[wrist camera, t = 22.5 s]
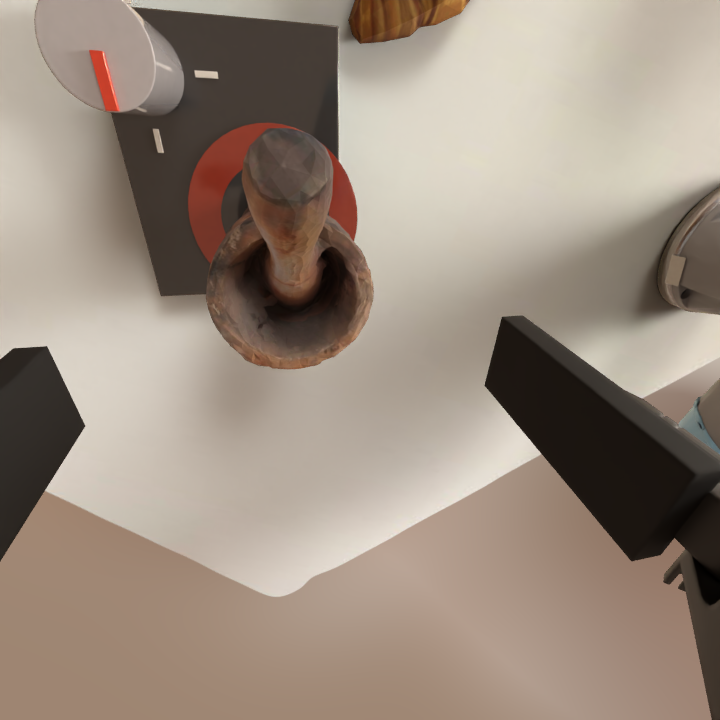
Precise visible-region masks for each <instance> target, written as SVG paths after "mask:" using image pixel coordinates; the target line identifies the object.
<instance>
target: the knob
mask: <svg viewBox="0 0 720 720" xmlns="http://www.w3.org/2000/svg"><path fill="white" fill-rule="evenodd" d="M34 20H35V32H36V38H37V42H38V45H39V48H40V51H41V53H42V56H43V58H44V60H45V62H46V64H47V65H48V67H49V68H50V70H51V72H52V73H53V74H54V76H55V77H56V78H57V80H58V81H59V82H60V83H61V84H62V85H63V86H64V87H65V88H66V89H67V90H68V91H69V92H70V93H71V94H72V95H74V96H75V97H76V98H78V99H79V100H81V101H82V102H84V103H85V104H87V105H89V106H91V107H93V108H96V109H99V110H102V111H106V112H114V113H123V114H133V115H143V116H162V115H165V114H167V113H169V112H171V111H172V110H173V109H174V108H175V107H176V106H177V105H178V103H179V102H180V100H181V97H182V95H183V90H184V75H183V70H182V66H181V63H180V60H179V58H178V56H177V54H176V52H175V50H174V49H173V47H172V46H171V44H170V43H169V42H168V41H167V39H166V38H165V37H164V36H163V35H162V34H161V33H160V32H159V31H157V30H156V29H155V28H154V27H153V26H152V25H151V24H150V23H148V22H147V21H146V20H145V19H144V18H143V17H142V16H141V15H139V14H138V13H137V12H136V11H135V10H134V9H133V8H132V7H131V6H129V5H128V4H127V3H126V2H125V1H124V0H38V3H37V6H36V10H35V19H34Z"/></svg>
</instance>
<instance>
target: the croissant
mask: <svg viewBox="0 0 720 720" xmlns="http://www.w3.org/2000/svg"><path fill="white" fill-rule="evenodd" d="M468 2H469V0H355V2H354V5H353V8H352V11H351V14H350V17H349V20H348V21H349V25H350V28H351V32H352V34H353V36H354V37H355V38H356V39H357V41H358V42H359V43H360V44H361V43H374V42H384V41H389V40H394V39H399V38H404V37H409V36H410V35H411V34H413V33H414V32H415V31H416V30H417V29H418V28H419V27H423V26H431V25H436V24H438V23H440V22H443V21H445V20H447V19H449V18H451V17H453V16H456V15H458V14H460V13H461V12H462V10H463V9H464V8H465V6H466V5H467V3H468Z"/></svg>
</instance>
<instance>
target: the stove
mask: <svg viewBox="0 0 720 720" xmlns="http://www.w3.org/2000/svg"><path fill="white" fill-rule="evenodd" d="M124 1H125V2H126V3H127V4H131V0H124ZM132 8H133V9H134V10H135V11H136V12H137V13H138V14H139V15H141V16H142V17H143V18H144V19H145V20H146V21H147V22H148V23H150V24H151V25H152V26H153V27H154V28H155V29H156V30H157V31H159V32H160V33H161V34H162V35H163V36H164V37H165V38H166V39H167V41H168V42H169V43H170V44H171V46H172V47H173V49H174V50H175V52H176V54H177V56H178V58H179V60H180V63H181V66H182V70H183V75H184V90H183V95H182V97H181V100H180V102H179V103H178V105H177V106H176V107H175V108H174V109H173V110H172V111H171V112H169V113H167V114H165V115H162V116H143V115H133V114H123V113H114V112H111V114H112V117H113V121H114V125H115V128H116V132H117V136H118V139H119V143H120V147H121V150H122V154H123V158H124V161H125V165H126V169H127V172H128V176H129V180H130V183H131V187H132V191H133V195H134V198H135V202H136V206H137V209H138V213H139V217H140V220H141V224H142V228H143V231H144V235H145V239H146V242H147V246H148V250H149V253H150V257H151V261H152V265H153V268H154V272H155V276H156V279H157V283H158V287H159V290H160V294H161V296H174V295H195V294H206V289H207V280H208V274H209V269H210V265H211V264H210V263H209V261H208V260H207V258H206V257H205V256H204V254H203V253H202V251H201V249H200V247H199V246H198V244H197V241H196V239H195V237H194V234H193V231H192V228H191V224H190V219H189V212H188V194H189V186H190V182H191V179H192V175H193V172H194V170H195V168H196V166H197V164H198V162H199V160H200V159H201V157H202V156H203V154H204V152H205V151H206V150H207V149H208V148H209V147H210V146H211V145H212V144H213V143H214V142H215V141H216V140H218V139H219V138H220V137H221V136H223V135H224V134H226V133H228V132H230V131H232V130H234V129H236V128H239V127H242V126H245V125H250V124H255V123H276V124H283V125H287V126H290V127H294V128H296V129H299V130H301V131H303V132H305V133H308V134H310V135H312V136H313V137H314V138H316V139H317V140H318V141H319V142H321V143H322V144H323V145H324V146H326V147H327V148H328V149H329V151H330V152H331V153H332V154H333V155H334V156H335V157H336V158H337V160H338V161H339V27H338V26H333V25H323V24H312V23H301V22H290V21H279V20H268V19H257V18H246V17H235V16H225V15H214V14H203V13H192V12H181V11H170V10H159V9H148V8H137V7H132Z"/></svg>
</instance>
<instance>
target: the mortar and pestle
mask: <svg viewBox="0 0 720 720" xmlns="http://www.w3.org/2000/svg"><path fill="white" fill-rule="evenodd" d="M242 184H243V188H244V192H245V195H246V199H247V202H248V207H247V209H246V210H245V212H244V213H243V215H242V217H241V218H240V219H238V220H237V221H236V222H235V223H234V225H233V226H232V227H231V228H230V229H229V231H228V232H227V234H226V235H225V238H224V239H223V241H222V242H221V244H220V245H219V247H218V249H217V251H216V253H215V255H214V257H213V260H212V263H211V265H210V269H209V274H208V280H207V289H206V300H207V305H208V309H209V312H210V315H211V318H212V320H213V322H214V324H215V326H216V328H217V329H218V331H219V332H220V333H221V335H222V336H223V338H224V339H225V340H226V341H227V342H228V343H229V345H230V346H231V347H233V348H234V349H235V350H236V351H237V352H238V353H240V354H241V355H242V356H243V358H244V359H245V360H247V361H249V362H251V363H254V364H256V365H259V366H270V367H271V368H277V369H300V368H305V367H310V366H315V365H318V364H320V363H321V362H322V361H323V360H326V359H328V358H331V357H334V356H336V355H337V354H338V353H339V352H341V351H342V350H343V349H344V348H346V347H347V346H348V345H349V344H350V343H351V342H353V341H354V340H355V339H356V337H357V336H358V334H359V333H360V331H361V330H362V328H363V326H364V325H365V323H366V321H367V320H368V317H369V312H370V309H371V306H372V302H373V292H374V291H373V283H372V280H371V273H370V270H369V268H368V266H367V263H366V260H365V257H364V255H363V253H362V251H361V250H360V249H359V247H358V246H357V245H356V244H355V242H354V241H353V240H352V239H351V237H350V235H349V234H348V233H347V232H346V231H345V230H344V229H343V228H342V227H341V226H340V224H339V223H338V222H337V221H336V220H334V219H333V218H331V217H330V216H328V215H327V214H328V211H329V208H330V203H331V198H332V187H333V166H332V160H331V159H330V156H329V154H328V151H327V149H326V148H325V146H324V145H323V144H321V143H320V142H319V141H318V140H317V139H316V138H314V137H313V136H312V135H310V134H308V133H305V132H302V131H299V130H294V129H290V128H267V129H266V130H265V131H264V132H263V133H262V134H261V135H260V136H259V137H258V138H257V139H256V140H255V141H254V142H253V143H252V144H251V145H250V146H249V149H248V151H247V153H246V156H245V158H244V161H243V171H242Z"/></svg>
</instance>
